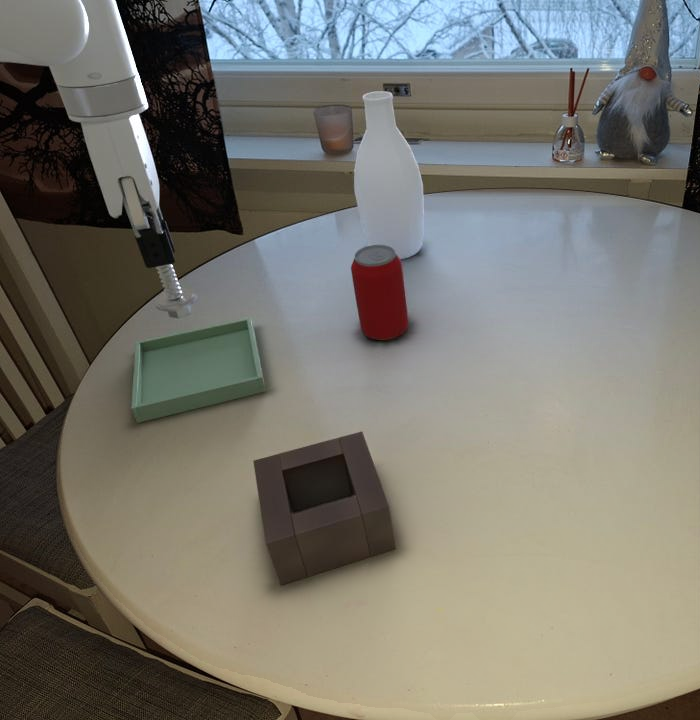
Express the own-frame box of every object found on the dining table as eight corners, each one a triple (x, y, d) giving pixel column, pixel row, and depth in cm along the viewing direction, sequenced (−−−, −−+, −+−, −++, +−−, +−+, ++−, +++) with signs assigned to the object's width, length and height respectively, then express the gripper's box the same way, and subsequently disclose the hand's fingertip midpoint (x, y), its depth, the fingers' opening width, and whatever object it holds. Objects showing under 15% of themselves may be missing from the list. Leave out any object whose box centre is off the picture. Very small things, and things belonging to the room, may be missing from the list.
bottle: (378, 231, 122) (358, 83, 107) (437, 237, 119) (425, 86, 104) (352, 260, 113) (327, 104, 98) (415, 267, 111) (398, 107, 96)
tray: (137, 423, 81) (131, 408, 80) (141, 355, 93) (135, 341, 92) (266, 391, 85) (262, 377, 84) (254, 330, 97) (250, 316, 96)
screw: (207, 312, 84) (169, 328, 81) (191, 298, 87) (154, 313, 84) (175, 214, 76) (131, 228, 73) (159, 202, 79) (116, 215, 76)
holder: (280, 586, 62) (265, 543, 59) (266, 501, 70) (253, 460, 67) (396, 548, 65) (389, 506, 61) (369, 472, 73) (362, 431, 70)
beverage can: (392, 312, 100) (382, 237, 93) (418, 331, 95) (410, 254, 88) (352, 329, 96) (339, 253, 89) (378, 349, 92) (366, 271, 85)
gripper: (72, 83, 74) (129, 238, 84) (53, 124, 61) (123, 298, 72) (145, 75, 76) (192, 227, 86) (142, 112, 63) (197, 284, 74)
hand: (160, 258), depth 79 cm, fingers closed on screw, 2 cm apart
